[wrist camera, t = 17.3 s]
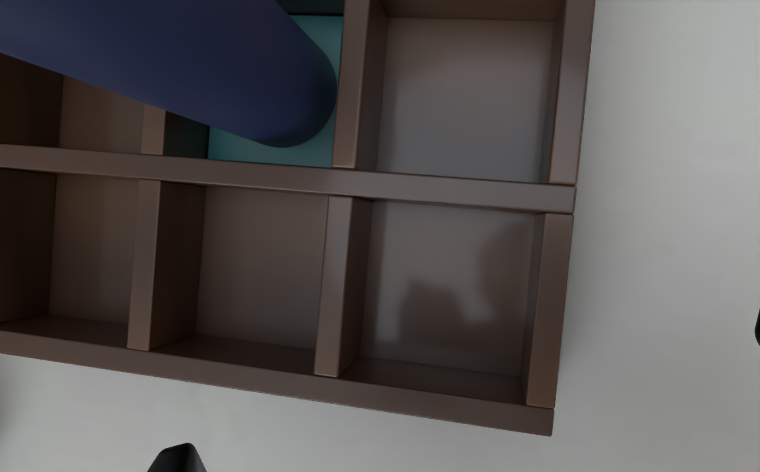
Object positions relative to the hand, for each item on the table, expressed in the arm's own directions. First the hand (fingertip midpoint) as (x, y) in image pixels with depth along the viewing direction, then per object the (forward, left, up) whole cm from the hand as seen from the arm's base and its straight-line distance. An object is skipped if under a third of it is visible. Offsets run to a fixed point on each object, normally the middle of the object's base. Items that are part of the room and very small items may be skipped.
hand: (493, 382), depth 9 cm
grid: (+6, +8, -11) cm, 15 cm away
